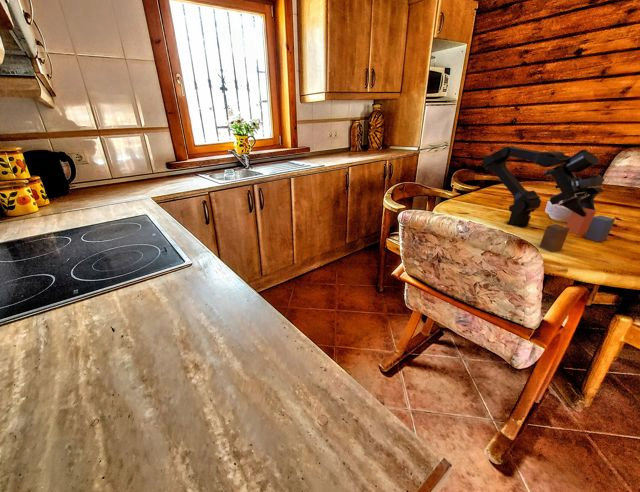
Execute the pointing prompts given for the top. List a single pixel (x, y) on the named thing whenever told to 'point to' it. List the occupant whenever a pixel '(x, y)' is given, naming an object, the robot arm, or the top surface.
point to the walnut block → (554, 237)
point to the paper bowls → (558, 212)
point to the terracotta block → (580, 221)
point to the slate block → (599, 228)
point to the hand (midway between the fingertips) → (589, 215)
